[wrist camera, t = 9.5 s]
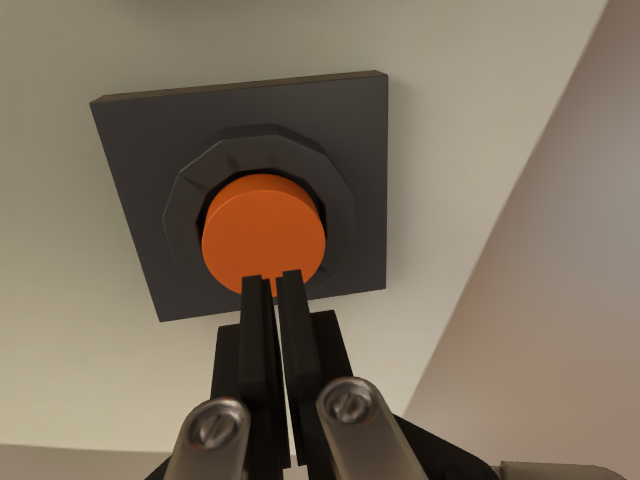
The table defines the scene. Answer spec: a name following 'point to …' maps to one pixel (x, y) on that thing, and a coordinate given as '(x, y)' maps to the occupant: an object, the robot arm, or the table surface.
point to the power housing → (247, 159)
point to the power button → (262, 231)
